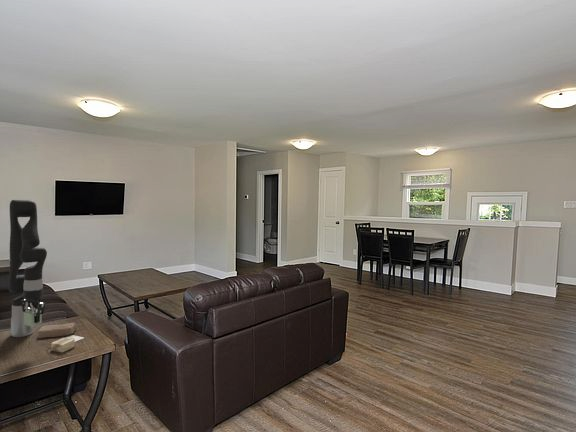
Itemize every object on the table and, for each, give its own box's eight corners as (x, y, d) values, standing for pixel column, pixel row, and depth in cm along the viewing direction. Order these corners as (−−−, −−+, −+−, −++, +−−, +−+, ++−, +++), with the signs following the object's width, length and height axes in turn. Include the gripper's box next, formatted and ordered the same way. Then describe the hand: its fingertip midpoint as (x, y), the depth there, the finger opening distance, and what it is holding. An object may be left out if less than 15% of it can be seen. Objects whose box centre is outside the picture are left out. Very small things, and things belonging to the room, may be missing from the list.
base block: (51, 350, 167) (51, 343, 167) (63, 345, 174) (63, 337, 174) (62, 352, 166) (62, 344, 166) (74, 347, 172) (74, 339, 172)
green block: (24, 324, 164) (24, 312, 163) (34, 321, 168) (34, 309, 168) (31, 326, 162) (31, 314, 162) (41, 322, 167) (41, 310, 166)
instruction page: (56, 341, 177) (56, 340, 177) (72, 335, 186) (72, 334, 186) (69, 344, 175) (69, 343, 175) (84, 338, 183) (84, 337, 183)
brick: (37, 338, 181) (37, 330, 181) (42, 333, 188) (42, 324, 188) (72, 335, 187) (72, 327, 187) (76, 330, 195) (76, 322, 194)
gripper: (14, 287, 163) (14, 321, 164) (35, 291, 158) (35, 326, 159) (31, 284, 170) (30, 316, 171) (51, 288, 165) (50, 321, 166)
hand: (32, 321), depth 165 cm, fingers closed on green block, 5 cm apart
